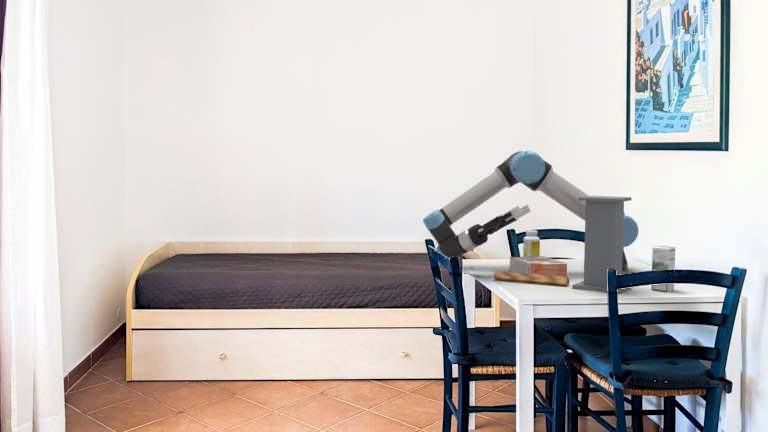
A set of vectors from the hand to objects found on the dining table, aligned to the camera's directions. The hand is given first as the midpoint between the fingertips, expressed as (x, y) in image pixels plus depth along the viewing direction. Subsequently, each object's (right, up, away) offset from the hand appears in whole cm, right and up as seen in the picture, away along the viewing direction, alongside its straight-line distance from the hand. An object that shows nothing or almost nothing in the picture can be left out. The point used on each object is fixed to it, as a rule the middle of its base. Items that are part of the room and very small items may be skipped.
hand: (524, 208), depth 278 cm
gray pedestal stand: (+24, -27, -14) cm, 38 cm away
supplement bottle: (+12, -22, +50) cm, 56 cm away
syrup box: (+43, -27, -17) cm, 54 cm away
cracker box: (+5, -21, +23) cm, 31 cm away
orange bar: (+2, -23, -4) cm, 24 cm away
